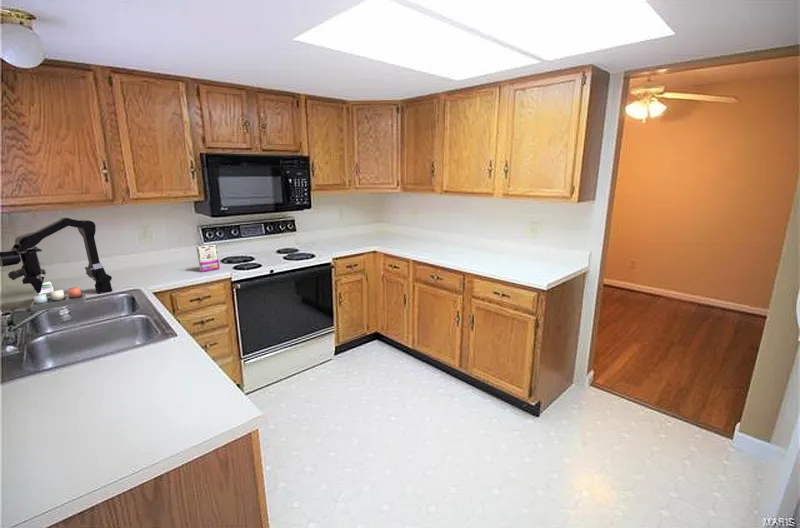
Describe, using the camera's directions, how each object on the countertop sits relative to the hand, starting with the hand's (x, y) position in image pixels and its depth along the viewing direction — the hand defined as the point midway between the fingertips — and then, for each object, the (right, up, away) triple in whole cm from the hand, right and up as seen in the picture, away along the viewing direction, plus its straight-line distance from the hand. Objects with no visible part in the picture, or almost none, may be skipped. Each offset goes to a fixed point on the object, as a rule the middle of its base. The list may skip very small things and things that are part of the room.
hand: (39, 292), depth 183 cm
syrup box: (-11, -2, +13) cm, 17 cm away
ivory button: (+5, -3, +5) cm, 8 cm away
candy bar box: (+50, +10, +66) cm, 83 cm away
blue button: (0, -5, +1) cm, 5 cm away
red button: (+10, -2, +9) cm, 14 cm away
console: (+5, -6, +6) cm, 10 cm away
